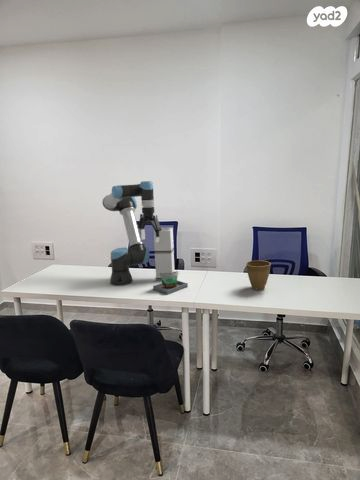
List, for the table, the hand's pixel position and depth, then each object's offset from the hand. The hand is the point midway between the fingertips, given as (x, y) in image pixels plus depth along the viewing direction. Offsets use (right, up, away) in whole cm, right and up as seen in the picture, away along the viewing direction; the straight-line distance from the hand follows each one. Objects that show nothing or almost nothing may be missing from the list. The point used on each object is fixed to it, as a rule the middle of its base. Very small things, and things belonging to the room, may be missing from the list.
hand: (150, 240), depth 214 cm
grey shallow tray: (+13, -31, +6) cm, 34 cm away
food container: (+13, -30, +6) cm, 33 cm away
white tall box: (+9, -27, +27) cm, 39 cm away
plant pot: (+68, -30, +1) cm, 74 cm away
